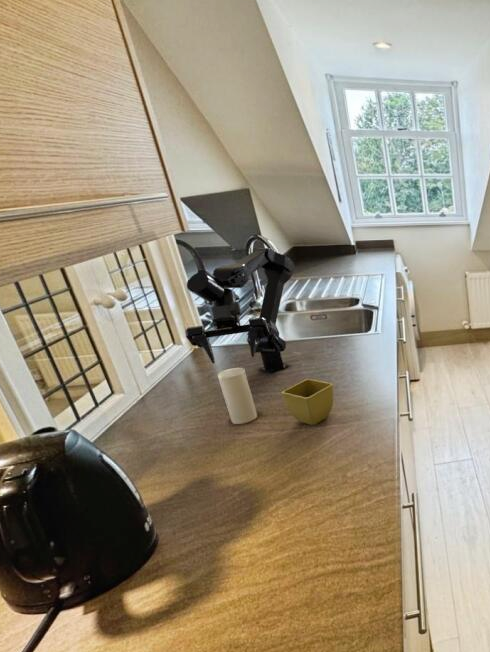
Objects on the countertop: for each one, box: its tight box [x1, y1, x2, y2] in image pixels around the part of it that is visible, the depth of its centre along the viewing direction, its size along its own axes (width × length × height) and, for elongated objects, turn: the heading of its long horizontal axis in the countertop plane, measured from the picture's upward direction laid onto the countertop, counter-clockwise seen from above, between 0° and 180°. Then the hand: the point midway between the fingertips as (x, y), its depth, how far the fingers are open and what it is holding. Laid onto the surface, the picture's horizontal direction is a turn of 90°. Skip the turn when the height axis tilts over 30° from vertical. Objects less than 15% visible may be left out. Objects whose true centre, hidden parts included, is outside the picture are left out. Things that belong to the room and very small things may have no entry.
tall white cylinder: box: [217, 367, 258, 425], centre depth 115 cm, size 6×6×13 cm
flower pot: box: [281, 378, 334, 426], centre depth 113 cm, size 9×9×9 cm
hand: (233, 359), depth 119 cm, fingers open, 9 cm apart
